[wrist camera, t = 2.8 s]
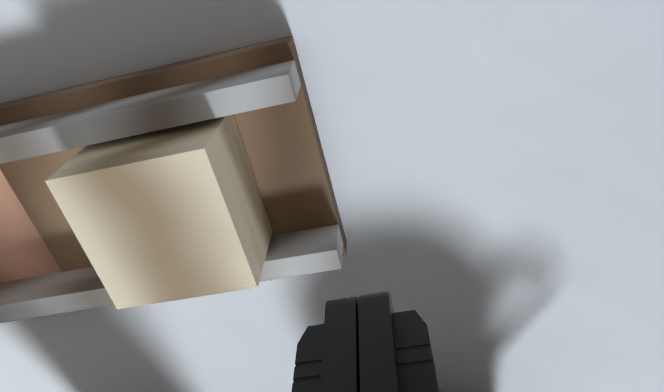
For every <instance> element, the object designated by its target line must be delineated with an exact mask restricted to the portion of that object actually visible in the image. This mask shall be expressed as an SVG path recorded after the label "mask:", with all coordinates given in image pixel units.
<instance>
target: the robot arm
mask: <svg viewBox="0 0 664 392" xmlns="http://www.w3.org/2000/svg"><path fill="white" fill-rule="evenodd" d="M295 365H296V367H295V369H294V377H293V380H294V383H293V385H292V392H439V387H438V382H437V377H436V371H435V366H434V361H433V356H432V350H431V345H430V340H429V335H428V329H427V325H426V323H425V322H424V321H423V320H422V319H421V317H420V316H419V315H418V314H417V312H416V311H415V310H411V311H405V312H398V313H394V310H393V306H392V301H391V297H390V293H389V291H387V292H380V293H374V294H368V295H362V296H359V297H358V298H357V297H350V298H344V299H337V300H331V301H327V302H326V307H325V323H324V324H321V325H314V326H308V327H307V329H306V331H305V332H304V334H303V336H302V337H301V339H300V341H299V342H298V344H297V352H296V360H295Z"/></svg>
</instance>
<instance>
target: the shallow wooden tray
mask: <svg viewBox="0 0 664 392" xmlns="http://www.w3.org/2000/svg"><path fill="white" fill-rule="evenodd" d="M228 115H233V116H234V119H235V122H236V125H237V128H238V131H239V134H240V137H241V140H242V143H243V145H244V148H245V151H246V154H247V157H248V160H249V163H250V166H251V169H252V172H253V175H254V178H255V181H256V184H257V186H258V189H259V192H260V195H261V198H262V201H263V204H264V207H265V210H266V213H267V216H268V219H269V222H270V225H271V228H272V230H273V232H272V235H271V239H270V243H269V247H268V250H267V254H266V258H265V261H264V265H263V269H262V272H261V276H260V280H259V282H261V281H267V280H274V279H280V278H286V277H292V276H299V275H305V274H311V273H318V272H324V271H330V270H336V269H342V255H345V254H346V246H347V242H346V238H345V234H344V230H343V227H342V223H341V219H340V215H339V211H338V208H337V204H336V200H335V196H334V192H333V188H332V185H331V181H330V177H329V173H328V169H327V166H326V162H325V158H324V154H323V150H322V147H321V143H320V139H319V135H318V131H317V127H316V124H315V120H314V116H313V112H312V108H311V105H310V101H309V97H308V93H307V89H306V86H305V82H304V78H303V74H302V70H301V66H300V63H299V59H298V55H297V51H296V47H295V44H294V40H293V36H290V37H286V38H282V39H277V40H273V41H269V42H264V43H260V44H256V45H252V46H247V47H243V48H239V49H234V50H230V51H226V52H221V53H217V54H213V55H209V56H204V57H200V58H196V59H191V60H187V61H183V62H178V63H174V64H170V65H166V66H161V67H157V68H153V69H148V70H144V71H140V72H135V73H131V74H127V75H123V76H118V77H114V78H110V79H105V80H101V81H97V82H93V83H88V84H84V85H80V86H75V87H71V88H67V89H62V90H58V91H54V92H50V93H45V94H41V95H37V96H32V97H28V98H24V99H19V100H15V101H11V102H7V103H2V104H0V323H3V322H9V321H16V320H22V319H28V318H35V317H41V316H47V315H53V314H60V313H66V312H72V311H79V310H85V309H91V308H97V307H104V306H110V305H114V303H113V301H112V299H111V298H110V296H109V294H108V292H107V291H106V289H105V287H104V285H103V283H102V282H101V280H100V278H99V276H98V275H97V273H96V271H95V269H94V267H93V266H92V264H91V262H90V260H89V259H88V257H87V255H86V253H85V251H84V250H83V248H82V246H81V244H80V243H79V241H78V239H77V237H76V236H75V234H74V232H73V230H72V228H71V227H70V225H69V223H68V221H67V220H66V218H65V216H64V214H63V212H62V211H61V209H60V207H59V205H58V204H57V202H56V200H55V198H54V196H53V195H52V193H51V191H50V189H49V188H48V186H47V184H46V182H45V180H46V179H48V178H49V177H50V176H51V175H52V174H54V173H55V172H56V171H57V170H58V169H59V168H61V167H62V166H63V165H64V164H65V163H66V162H68V161H69V160H70V159H71V158H72V157H73V156H75V155H76V154H77V153H78V152H79V151H80V150H82V149H83V148H84V147H85V146H87V145H92V144H96V143H101V142H106V141H111V140H115V139H120V138H125V137H129V136H134V135H139V134H144V133H148V132H153V131H158V130H162V129H167V128H172V127H176V126H181V125H186V124H191V123H195V122H200V121H205V120H209V119H214V118H219V117H224V116H228Z"/></svg>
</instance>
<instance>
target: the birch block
mask: <svg viewBox="0 0 664 392" xmlns="http://www.w3.org/2000/svg"><path fill="white" fill-rule="evenodd" d="M45 182H46V184H47V186H48V188H49V189H50V191H51V193H52V195H53V196H54V198H55V200H56V202H57V204H58V205H59V207H60V209H61V211H62V212H63V214H64V216H65V218H66V220H67V221H68V223H69V225H70V227H71V228H72V230H73V232H74V234H75V236H76V237H77V239H78V241H79V243H80V244H81V246H82V248H83V250H84V251H85V253H86V255H87V257H88V259H89V260H90V262H91V264H92V266H93V267H94V269H95V271H96V273H97V275H98V276H99V278H100V280H101V282H102V283H103V285H104V287H105V289H106V291H107V292H108V294H109V296H110V298H111V299H112V301H113V303H114V305H115V307H116V308H117V309H123V308H129V307H135V306H142V305H148V304H154V303H161V302H167V301H173V300H180V299H186V298H192V297H199V296H205V295H211V294H218V293H224V292H231V291H237V290H243V289H250V288H256V287H258V284H259V280H260V276H261V272H262V269H263V265H264V261H265V258H266V254H267V250H268V247H269V243H270V239H271V235H272V232H273V230H272V228H271V225H270V222H269V219H268V216H267V213H266V210H265V207H264V204H263V201H262V198H261V195H260V192H259V189H258V186H257V184H256V181H255V178H254V175H253V172H252V169H251V166H250V163H249V160H248V157H247V154H246V151H245V148H244V145H243V143H242V140H241V137H240V134H239V131H238V128H237V125H236V122H235V119H234V116H233V115H228V116H224V117H219V118H214V119H209V120H205V121H200V122H195V123H191V124H186V125H181V126H176V127H172V128H167V129H162V130H158V131H153V132H148V133H144V134H139V135H134V136H129V137H125V138H120V139H115V140H111V141H106V142H101V143H96V144H92V145H87V146H85V147H84V148H83V149H82V150H80V151H79V152H78V153H77V154H76V155H75V156H73V157H72V158H71V159H70V160H69V161H68V162H66V163H65V164H64V165H63V166H62V167H61V168H59V169H58V170H57V171H56V172H55V173H54V174H52V175H51V176H50V177H49V178H48V179H46V180H45Z"/></svg>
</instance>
